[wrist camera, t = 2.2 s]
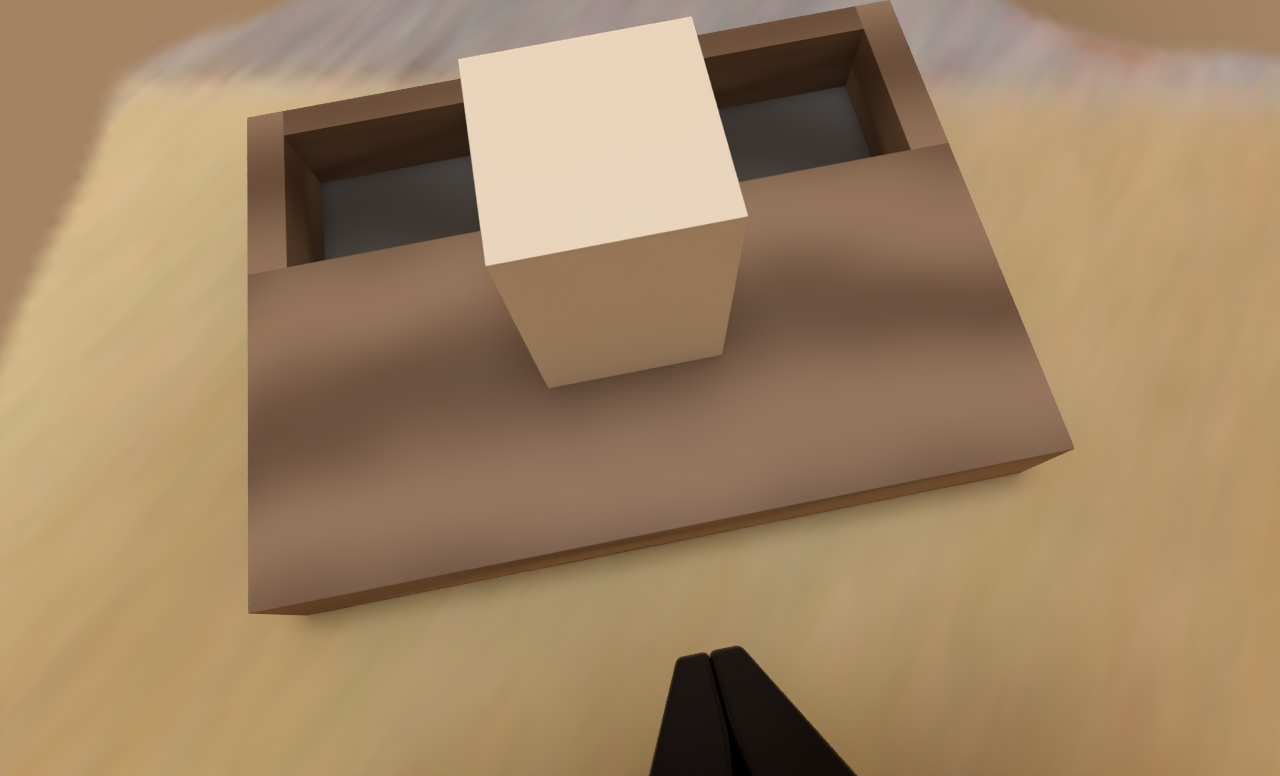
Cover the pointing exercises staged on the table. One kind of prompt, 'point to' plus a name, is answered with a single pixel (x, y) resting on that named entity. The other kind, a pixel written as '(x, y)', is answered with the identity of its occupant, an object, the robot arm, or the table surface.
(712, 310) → the block
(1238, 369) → the table surface
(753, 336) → the brown compartment tray
